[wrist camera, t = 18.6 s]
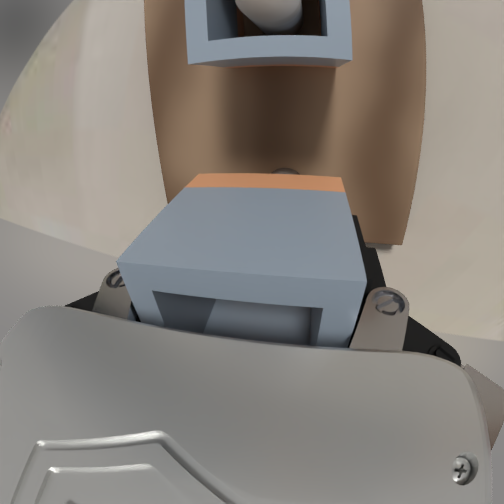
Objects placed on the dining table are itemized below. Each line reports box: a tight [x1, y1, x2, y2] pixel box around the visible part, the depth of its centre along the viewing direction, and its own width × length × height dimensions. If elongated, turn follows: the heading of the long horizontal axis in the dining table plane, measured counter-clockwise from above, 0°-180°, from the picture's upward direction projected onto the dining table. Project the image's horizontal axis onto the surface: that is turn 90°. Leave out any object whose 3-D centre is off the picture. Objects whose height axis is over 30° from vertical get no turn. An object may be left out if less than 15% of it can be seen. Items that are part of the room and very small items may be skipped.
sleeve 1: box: [185, 0, 352, 68], centre depth 8 cm, size 6×6×6 cm
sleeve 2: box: [116, 173, 367, 348], centre depth 10 cm, size 6×6×6 cm
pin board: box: [144, 0, 426, 245], centre depth 12 cm, size 16×17×6 cm
